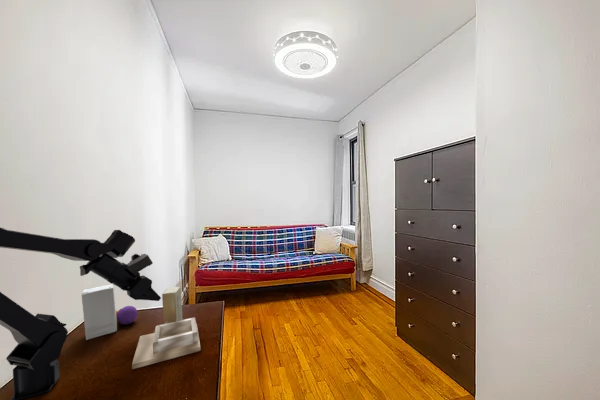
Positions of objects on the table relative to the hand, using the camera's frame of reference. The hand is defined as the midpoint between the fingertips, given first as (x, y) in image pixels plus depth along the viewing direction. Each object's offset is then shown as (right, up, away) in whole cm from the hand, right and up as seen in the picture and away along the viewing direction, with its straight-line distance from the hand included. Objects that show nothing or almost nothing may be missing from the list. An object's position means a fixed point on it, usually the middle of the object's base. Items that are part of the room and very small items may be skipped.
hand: (155, 296), depth 85 cm
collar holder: (+9, -11, -9) cm, 17 cm away
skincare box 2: (+4, -11, +3) cm, 13 cm away
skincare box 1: (-18, -13, +1) cm, 22 cm away
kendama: (-20, -13, +11) cm, 26 cm away
